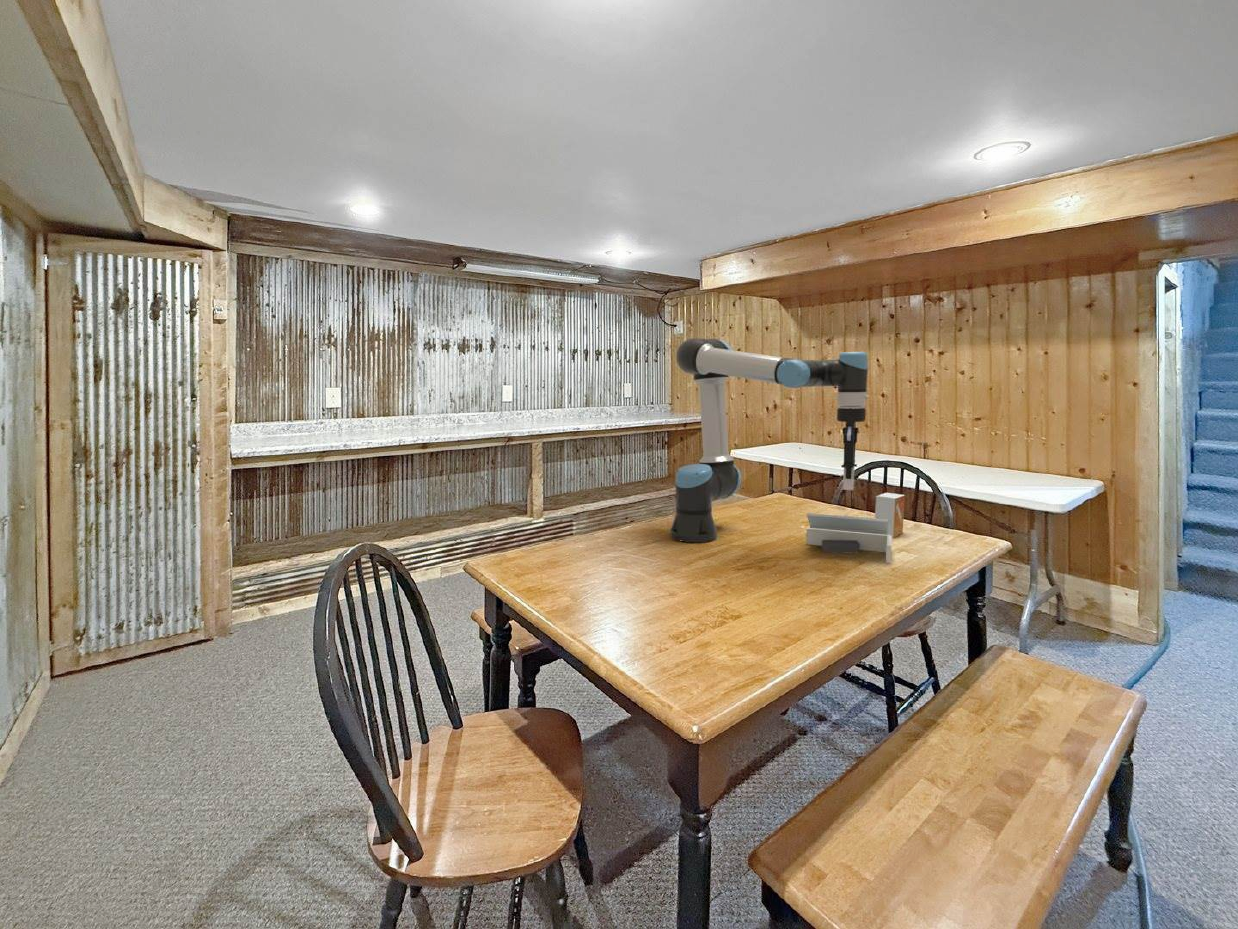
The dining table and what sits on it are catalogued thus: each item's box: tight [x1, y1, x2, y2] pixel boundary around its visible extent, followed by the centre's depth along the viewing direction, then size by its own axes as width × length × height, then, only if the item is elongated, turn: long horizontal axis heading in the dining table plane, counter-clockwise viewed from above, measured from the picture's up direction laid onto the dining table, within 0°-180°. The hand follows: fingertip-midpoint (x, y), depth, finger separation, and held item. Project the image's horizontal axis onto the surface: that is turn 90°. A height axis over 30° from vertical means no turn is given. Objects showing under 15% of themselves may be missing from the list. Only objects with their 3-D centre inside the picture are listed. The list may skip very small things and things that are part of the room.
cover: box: [806, 512, 888, 535], centre depth 172 cm, size 22×12×1 cm, turn 65°
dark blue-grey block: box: [821, 540, 860, 553], centre depth 175 cm, size 10×4×3 cm, turn 82°
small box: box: [874, 492, 906, 539], centre depth 192 cm, size 8×6×13 cm
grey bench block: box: [805, 527, 893, 564], centre depth 174 cm, size 24×14×5 cm, turn 65°
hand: (848, 489), depth 169 cm, fingers closed
